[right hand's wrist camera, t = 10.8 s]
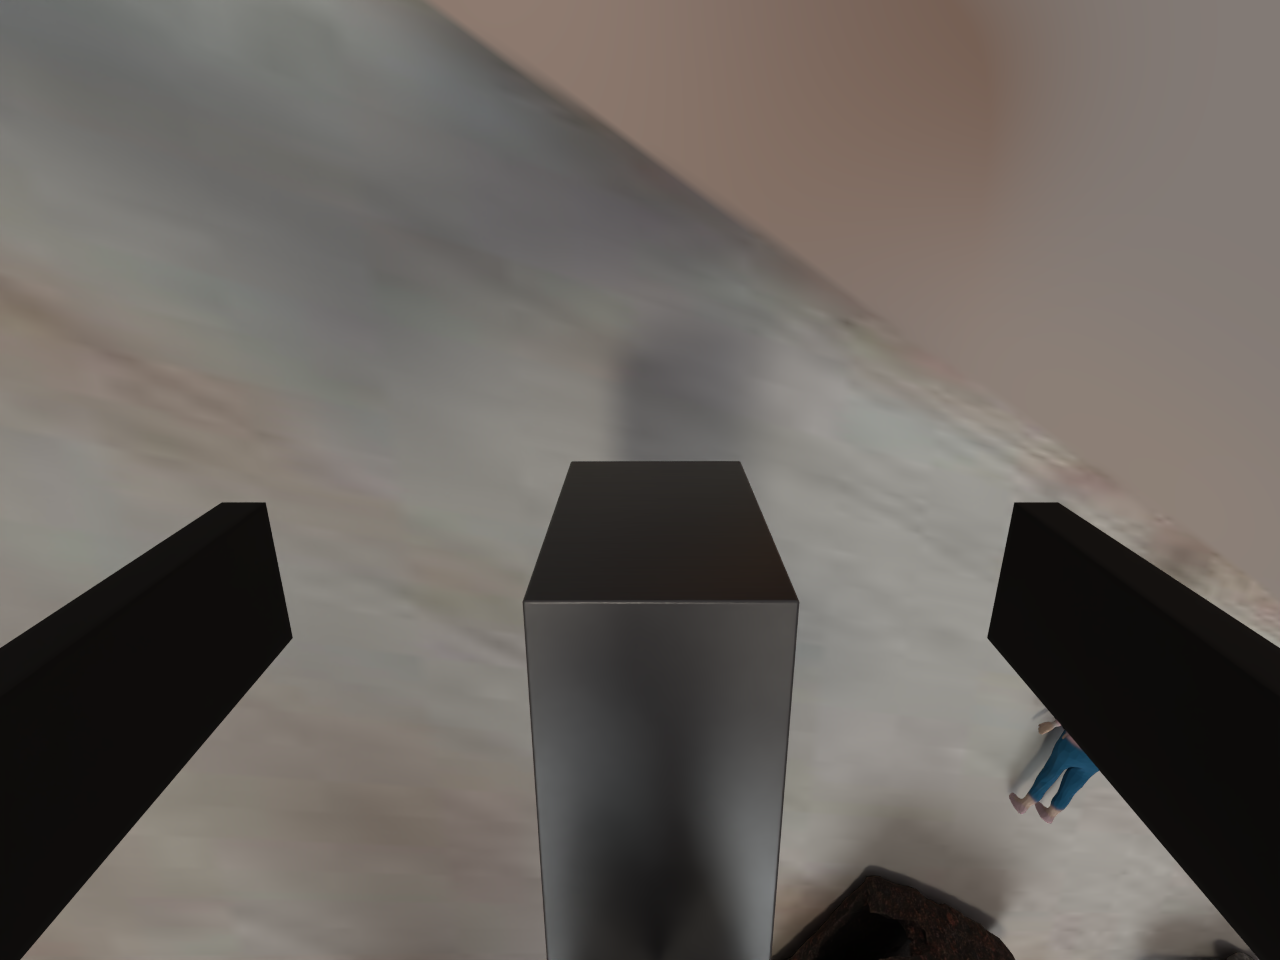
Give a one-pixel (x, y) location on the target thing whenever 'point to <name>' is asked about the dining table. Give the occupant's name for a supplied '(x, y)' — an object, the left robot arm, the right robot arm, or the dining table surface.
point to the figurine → (1072, 781)
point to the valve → (1239, 957)
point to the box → (659, 713)
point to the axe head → (899, 929)
